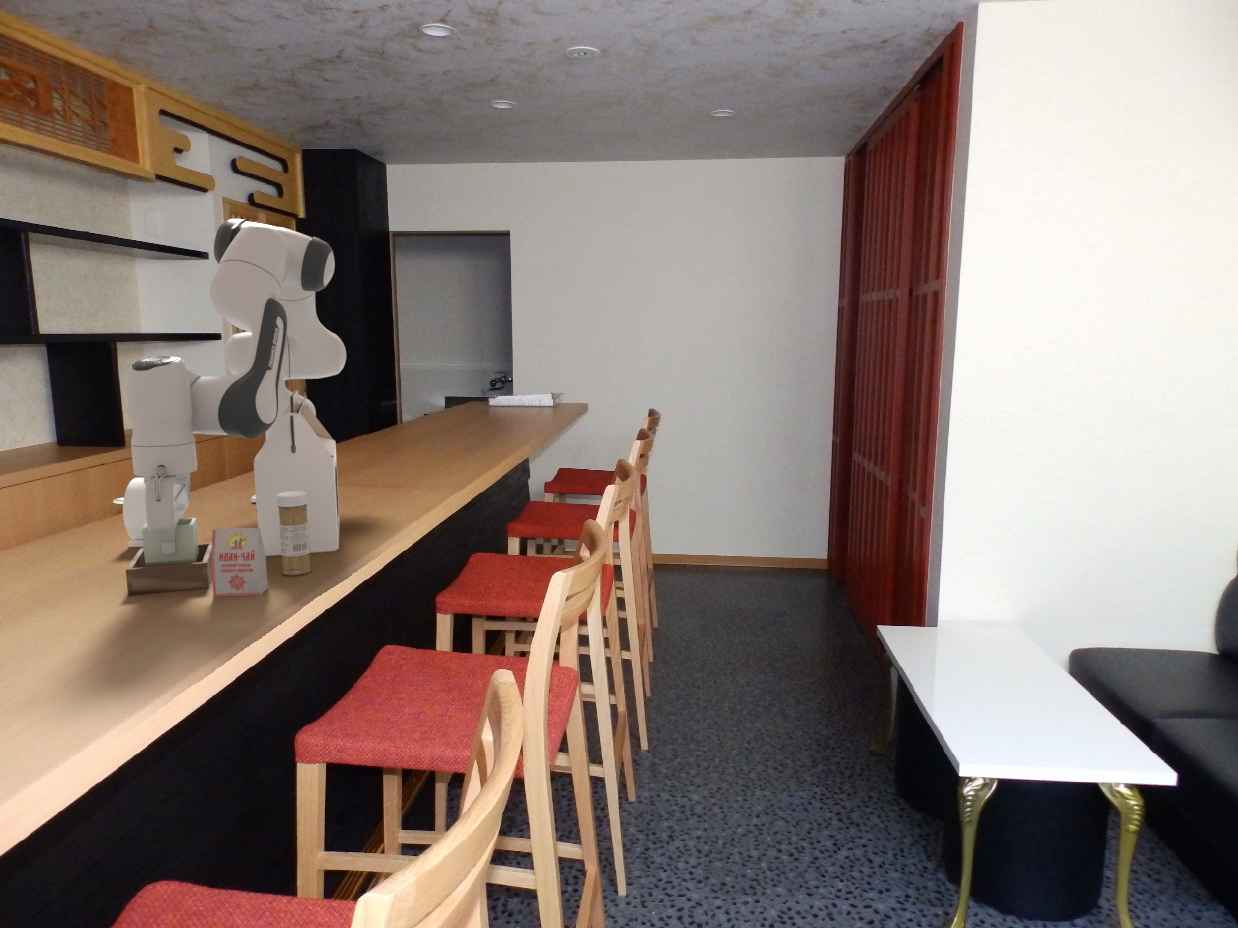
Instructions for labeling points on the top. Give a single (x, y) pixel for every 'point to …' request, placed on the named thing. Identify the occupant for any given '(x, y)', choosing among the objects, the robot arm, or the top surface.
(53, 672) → the top surface
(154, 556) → the box
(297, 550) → the sprinkles bottle
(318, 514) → the gable box
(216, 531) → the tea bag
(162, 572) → the large crate
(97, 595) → the top surface
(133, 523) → the headphone stand
